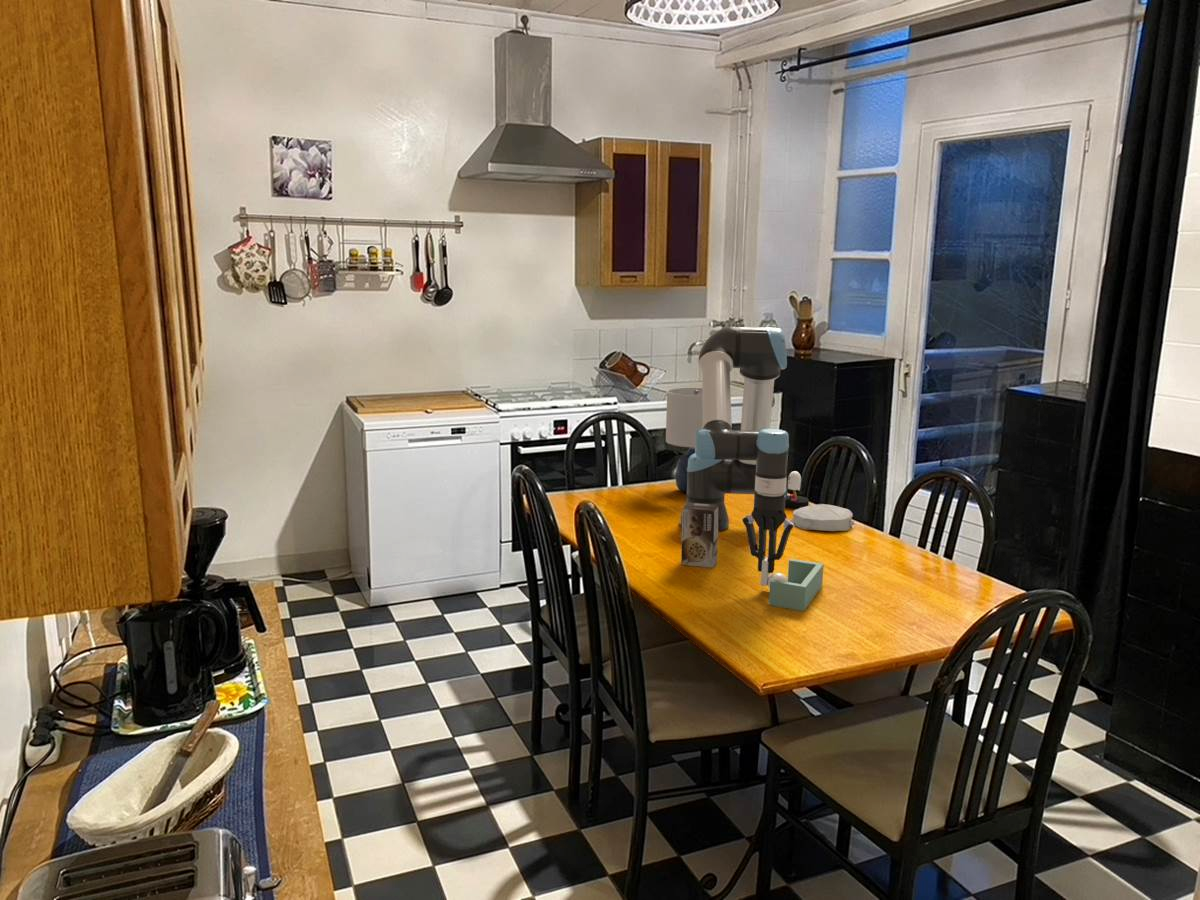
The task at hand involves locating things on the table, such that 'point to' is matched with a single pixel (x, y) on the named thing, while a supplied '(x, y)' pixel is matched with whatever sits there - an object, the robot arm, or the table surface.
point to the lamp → (683, 426)
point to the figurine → (795, 500)
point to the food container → (823, 518)
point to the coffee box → (700, 534)
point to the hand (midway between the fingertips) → (765, 584)
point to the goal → (797, 585)
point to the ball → (777, 578)
